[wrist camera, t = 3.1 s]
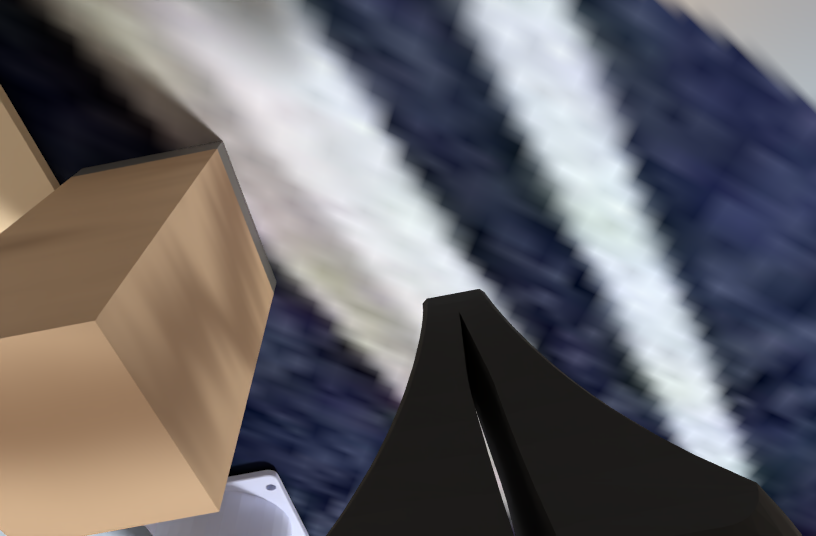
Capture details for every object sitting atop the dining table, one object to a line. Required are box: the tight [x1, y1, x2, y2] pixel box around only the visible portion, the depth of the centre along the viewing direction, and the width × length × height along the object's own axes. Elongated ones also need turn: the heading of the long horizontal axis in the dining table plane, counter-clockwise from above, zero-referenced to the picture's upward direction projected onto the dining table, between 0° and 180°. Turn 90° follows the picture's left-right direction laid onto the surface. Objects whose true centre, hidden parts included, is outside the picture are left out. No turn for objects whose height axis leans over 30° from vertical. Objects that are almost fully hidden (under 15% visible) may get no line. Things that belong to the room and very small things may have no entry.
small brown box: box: [0, 141, 276, 536], centre depth 15 cm, size 6×5×10 cm
